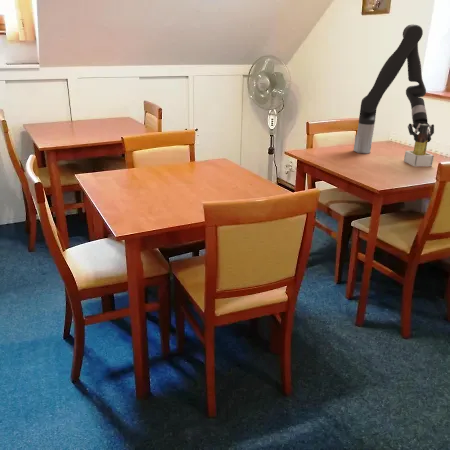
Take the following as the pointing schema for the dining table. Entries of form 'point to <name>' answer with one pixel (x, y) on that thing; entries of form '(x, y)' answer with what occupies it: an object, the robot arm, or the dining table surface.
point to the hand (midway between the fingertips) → (422, 141)
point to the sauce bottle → (421, 141)
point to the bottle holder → (418, 159)
